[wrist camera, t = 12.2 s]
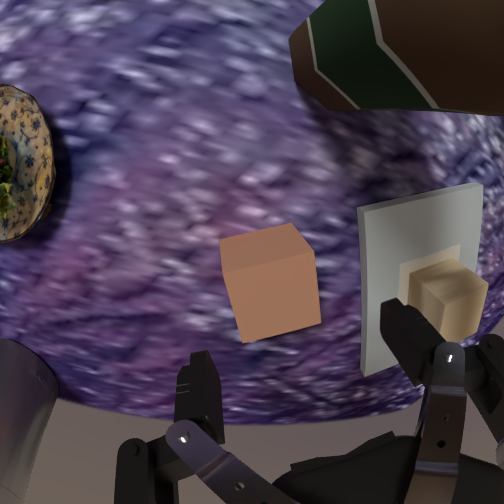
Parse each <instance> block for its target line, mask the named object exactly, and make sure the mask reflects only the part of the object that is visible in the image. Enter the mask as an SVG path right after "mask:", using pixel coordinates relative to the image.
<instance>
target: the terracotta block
mask: <svg viewBox="0 0 504 504" xmlns="http://www.w3.org/2000/svg"><path fill="white" fill-rule="evenodd" d="M219 241H220V252H221V262H222V272H223V277H224V280H225V284H226V287H227V291H228V294H229V298H230V301H231V305H232V308H233V312H234V315H235V319H236V322H237V326H238V329H239V332H240V336H241V339H242V342H243V343H246V342H250V341H255V340H259V339H263V338H267V337H271V336H275V335H279V334H283V333H287V332H290V331H294V330H298V329H302V328H305V327H309V326H313V325H316V324H320V323H321V315H320V304H319V293H318V284H317V274H316V265H315V256H314V251H313V250H312V248H311V247H310V246H309V244H308V243H307V242H306V241H305V239H304V238H303V237H302V236H301V234H300V233H299V232H298V231H297V229H296V228H295V227H294V226H293V224H292V223H288V224H284V225H280V226H275V227H271V228H267V229H262V230H258V231H254V232H250V233H245V234H241V235H237V236H233V237H229V238H224V239H220V240H219Z"/></svg>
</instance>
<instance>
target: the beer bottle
mask: <svg viewBox="0 0 504 504" xmlns="http://www.w3.org/2000/svg"><path fill="white" fill-rule="evenodd" d="M289 46H290V52H291V59H292V66H293V73H294V80H295V81H296V82H297V83H298V84H299V85H301V86H302V87H303V88H304V89H305V90H307V91H308V92H309V93H310V94H311V95H312V96H314V97H315V98H316V99H317V100H318V101H319V102H320V103H322V104H323V105H324V106H325V107H326V108H327V109H328V110H409V111H438V112H454V113H466V114H476V115H485V116H504V0H326V1H325V2H324V3H323V4H322V5H320V6H319V7H318V8H317V9H316V10H315V11H314V12H313V13H312V14H311V15H310V16H309V17H308V18H307V19H306V20H305V21H304V22H303V23H302V24H301V25H300V26H299V27H298V28H297V29H296V30H295V31H294V32H293V34H292V35H291V36H290V38H289Z"/></svg>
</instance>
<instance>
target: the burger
mask: <svg viewBox="0 0 504 504" xmlns="http://www.w3.org/2000/svg"><path fill="white" fill-rule="evenodd" d="M53 154H54V147H53V141H52V137H51V133H50V129H49V126H48V123H47V121H46V119H45V117H44V115H43V113H42V111H41V109H40V107H39V105H38V103H37V101H36V99H35V98H34V97H33V96H32V95H30V94H28V93H26V92H24V91H22V90H20V89H18V88H16V87H14V86H13V85H11V84H8V85H6V84H1V82H0V243H7V242H10V241H13V240H16V239H19V238H21V237H22V236H23V235H25V234H27V232H29V231H30V229H31V228H32V227H33V226H34V225H35V223H37V221H40V220H41V221H42V222H43V221H44V219H45V218H46V217H47V216H48V214H49V213H48V212H51V208H52V207H53V206H52V204H50V199H51V196H52V192H53V189H54V183H55V179H56V171H55V166H54V157H53Z"/></svg>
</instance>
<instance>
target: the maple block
mask: <svg viewBox="0 0 504 504" xmlns="http://www.w3.org/2000/svg"><path fill="white" fill-rule="evenodd" d="M487 289H488V283H487V282H486V281H484V280H483V279H482V278H480V277H479V276H478V275H476V274H475V273H473V272H472V271H471V270H469V269H468V268H467V267H465V266H464V265H462V264H461V263H459V262H458V261H457V260H455V259H454V258H449V259H447V260H444V261H441V262H439V263H436V264H433V265H431V266H428V267H425V268H422V269H420V270H417V271H414V272H411V273H409V288H408V302H407V305H408V304H409V305H411V306H413V307H415V308H417V309H418V310H419V311H420V312H421V313H422V314H423V315H424V317H425V318H426V319H427V320H428V321H429V322H430V323H431V324H432V325H433V326H434V328H435V329H436V330H437V331H438V332H439V333H440V334H441V336H442V337H443V338H444V339H445V340H446V341H447V342H455V343H458V342H459V341H461V340H463V339H465V338H467V337H468V336H470V335H472V334H474V333H475V332H477V329H478V325H479V322H480V318H481V314H482V310H483V306H484V302H485V298H486V293H487Z"/></svg>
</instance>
